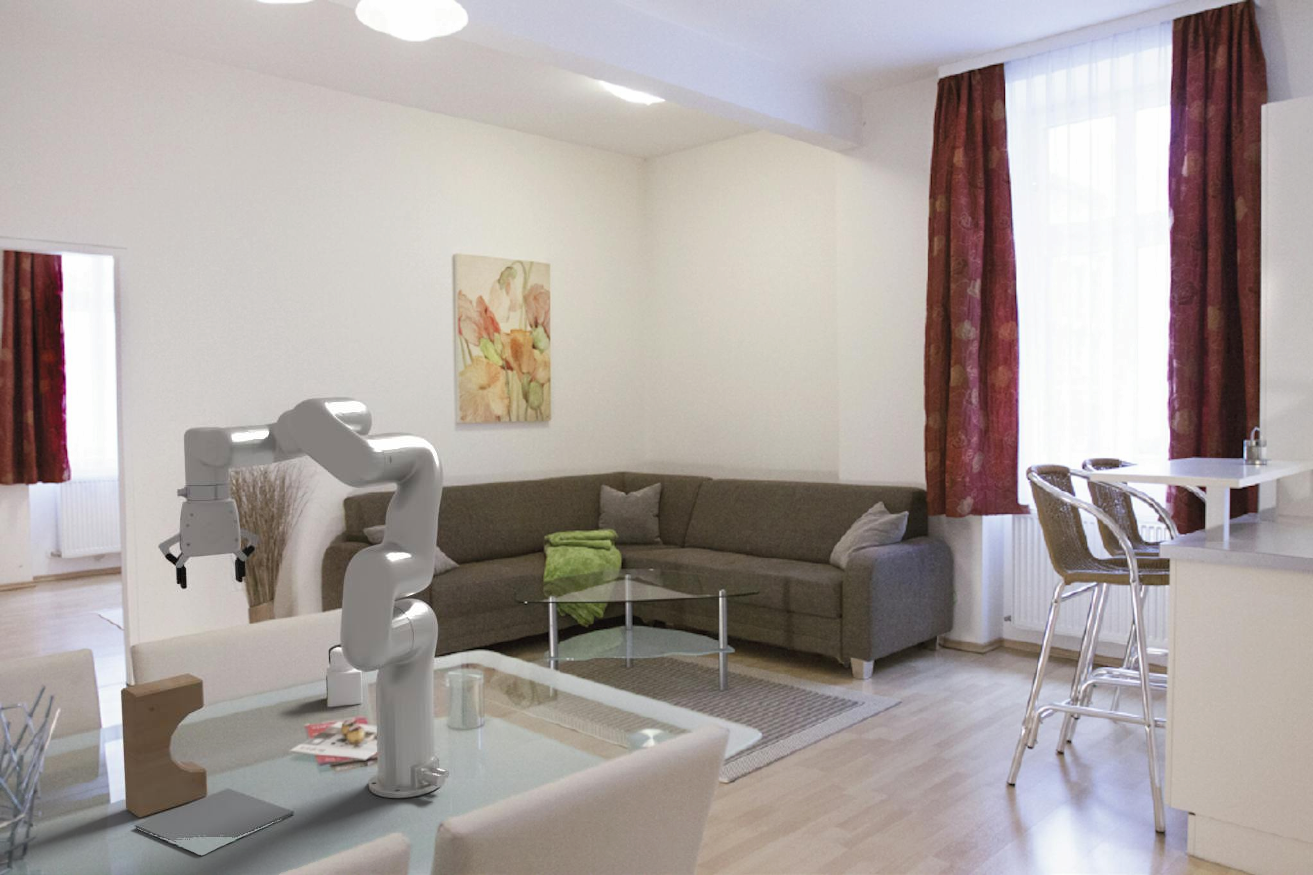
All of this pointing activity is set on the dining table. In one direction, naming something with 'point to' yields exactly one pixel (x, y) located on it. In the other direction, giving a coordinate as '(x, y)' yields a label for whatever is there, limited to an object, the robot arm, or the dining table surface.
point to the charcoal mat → (215, 817)
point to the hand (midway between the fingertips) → (211, 584)
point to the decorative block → (159, 745)
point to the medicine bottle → (342, 680)
